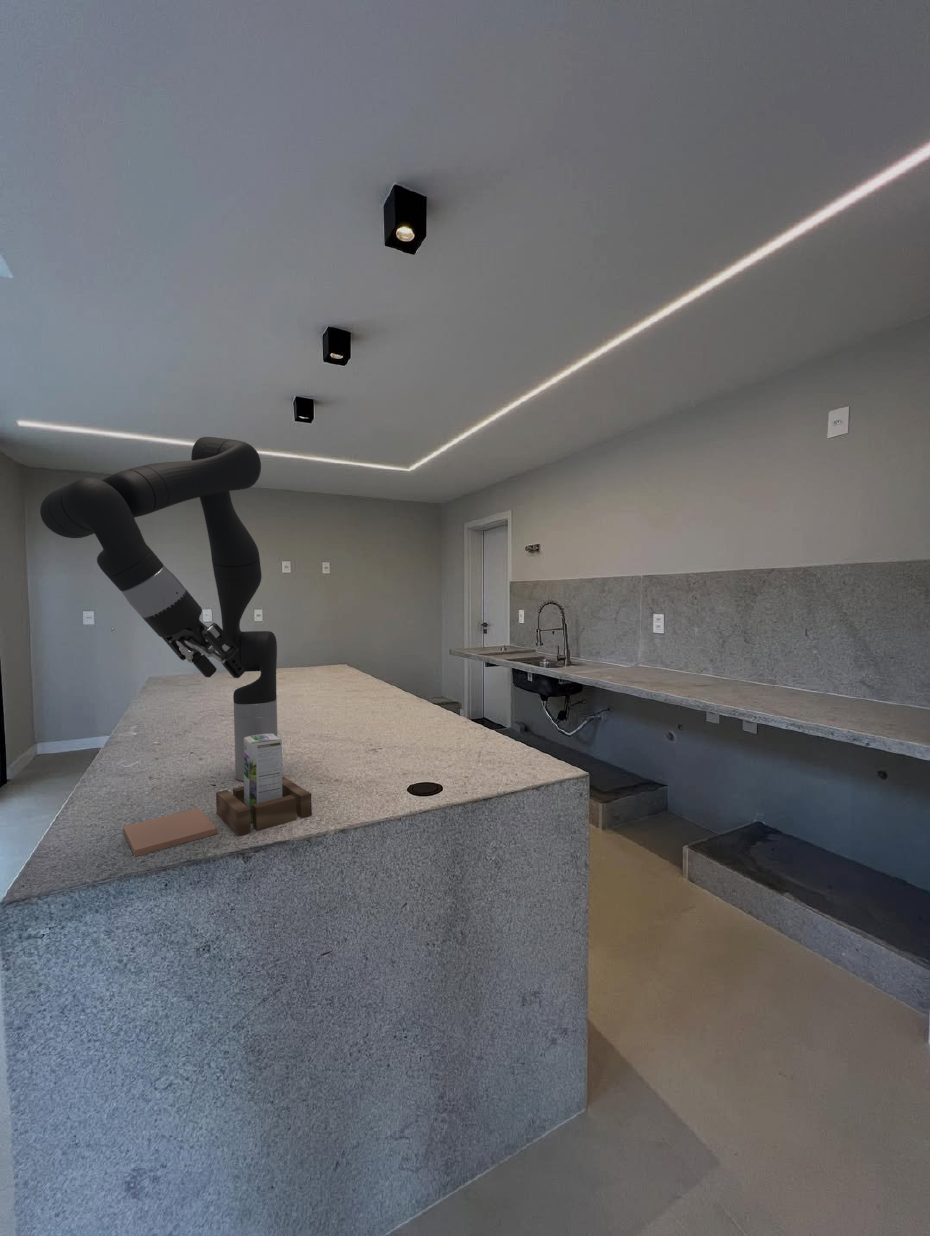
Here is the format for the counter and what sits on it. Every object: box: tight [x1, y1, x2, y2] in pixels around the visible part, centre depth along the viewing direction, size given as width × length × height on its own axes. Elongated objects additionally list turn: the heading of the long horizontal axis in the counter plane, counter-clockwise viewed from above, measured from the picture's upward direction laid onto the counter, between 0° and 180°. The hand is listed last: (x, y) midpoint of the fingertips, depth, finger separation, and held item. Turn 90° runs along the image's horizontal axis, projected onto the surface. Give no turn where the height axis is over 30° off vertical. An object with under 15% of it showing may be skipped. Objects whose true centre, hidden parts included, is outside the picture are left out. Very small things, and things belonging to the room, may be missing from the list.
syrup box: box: [243, 734, 283, 823], centre depth 97 cm, size 6×6×14 cm
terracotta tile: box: [122, 807, 218, 857], centre depth 89 cm, size 12×12×1 cm
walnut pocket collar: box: [215, 776, 313, 837], centre depth 97 cm, size 13×13×4 cm
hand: (226, 674), depth 90 cm, fingers open, 8 cm apart
